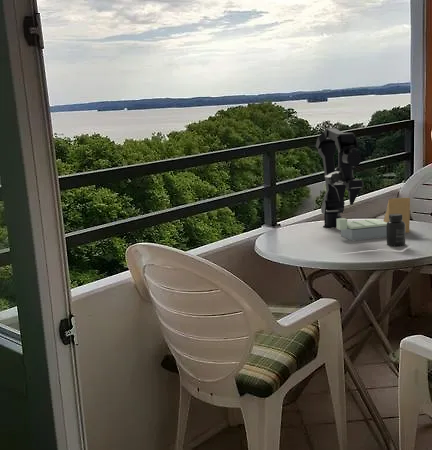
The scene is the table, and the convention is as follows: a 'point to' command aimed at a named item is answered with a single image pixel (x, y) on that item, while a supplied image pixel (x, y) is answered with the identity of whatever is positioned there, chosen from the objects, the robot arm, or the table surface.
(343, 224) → the lid
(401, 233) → the supplement bottle
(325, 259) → the table surface
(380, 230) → the tub
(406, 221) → the sandwich container
